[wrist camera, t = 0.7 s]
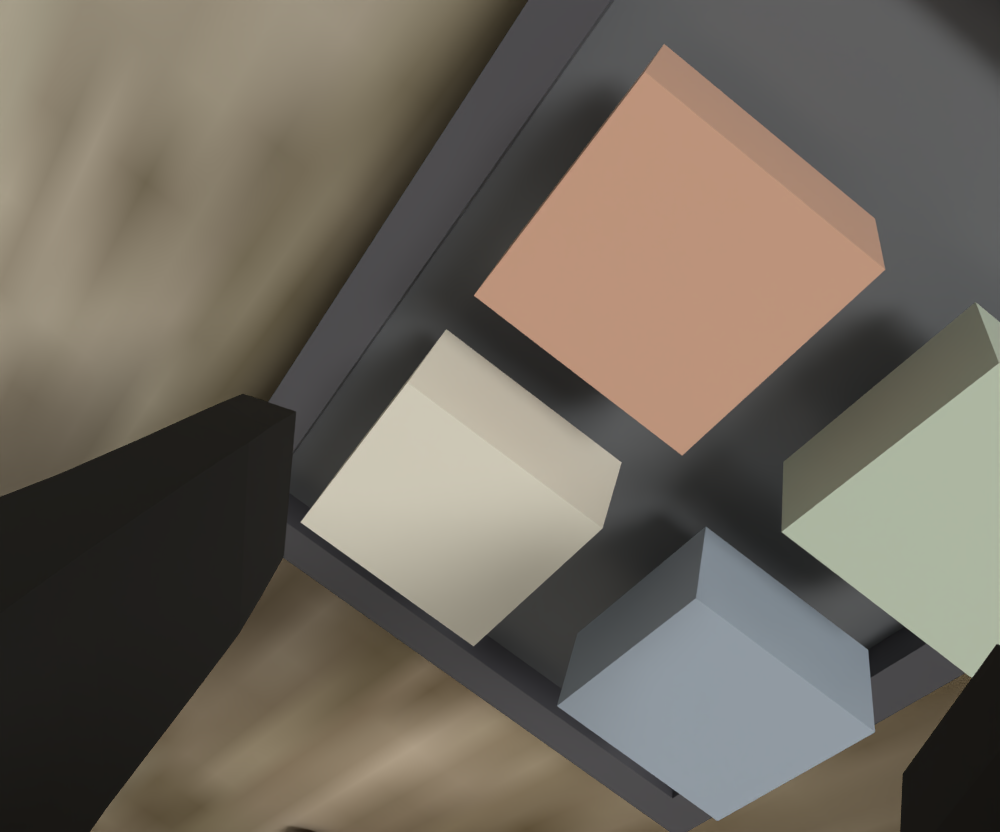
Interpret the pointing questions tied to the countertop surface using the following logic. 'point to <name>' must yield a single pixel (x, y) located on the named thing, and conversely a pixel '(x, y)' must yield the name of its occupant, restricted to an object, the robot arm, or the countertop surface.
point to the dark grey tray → (645, 457)
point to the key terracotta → (683, 256)
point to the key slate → (718, 678)
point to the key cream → (466, 492)
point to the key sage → (915, 492)
